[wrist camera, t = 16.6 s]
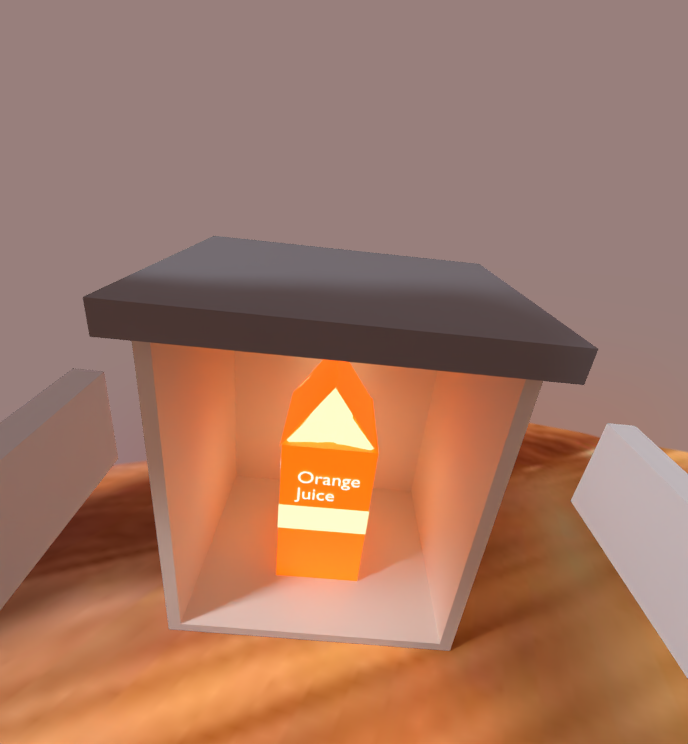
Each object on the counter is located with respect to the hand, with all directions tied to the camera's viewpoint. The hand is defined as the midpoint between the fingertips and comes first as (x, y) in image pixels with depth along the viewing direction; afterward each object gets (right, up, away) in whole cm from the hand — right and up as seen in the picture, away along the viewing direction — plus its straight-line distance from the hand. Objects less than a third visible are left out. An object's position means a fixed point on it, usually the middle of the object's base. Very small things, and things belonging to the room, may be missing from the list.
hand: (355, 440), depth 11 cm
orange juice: (-3, -15, +31) cm, 35 cm away
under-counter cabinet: (-3, -16, +31) cm, 35 cm away
